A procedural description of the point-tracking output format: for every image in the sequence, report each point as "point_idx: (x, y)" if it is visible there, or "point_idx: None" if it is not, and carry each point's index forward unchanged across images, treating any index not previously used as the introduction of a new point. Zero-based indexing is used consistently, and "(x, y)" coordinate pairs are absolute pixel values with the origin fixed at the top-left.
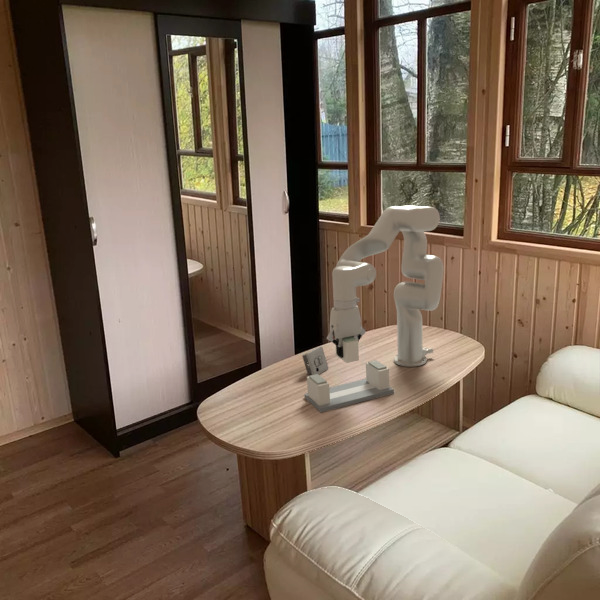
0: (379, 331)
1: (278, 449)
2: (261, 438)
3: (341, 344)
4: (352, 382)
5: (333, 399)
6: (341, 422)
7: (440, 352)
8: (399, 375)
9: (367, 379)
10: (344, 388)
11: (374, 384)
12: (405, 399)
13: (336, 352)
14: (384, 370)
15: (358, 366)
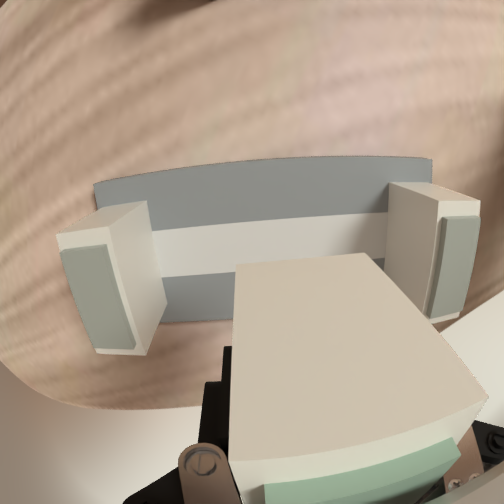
0: None
1: (46, 394)
2: (12, 348)
3: (241, 502)
4: (332, 162)
5: (187, 284)
6: (178, 382)
7: None
8: (490, 173)
9: (393, 194)
10: (271, 206)
11: (389, 252)
12: None
13: (204, 390)
14: (440, 320)
15: (418, 14)
